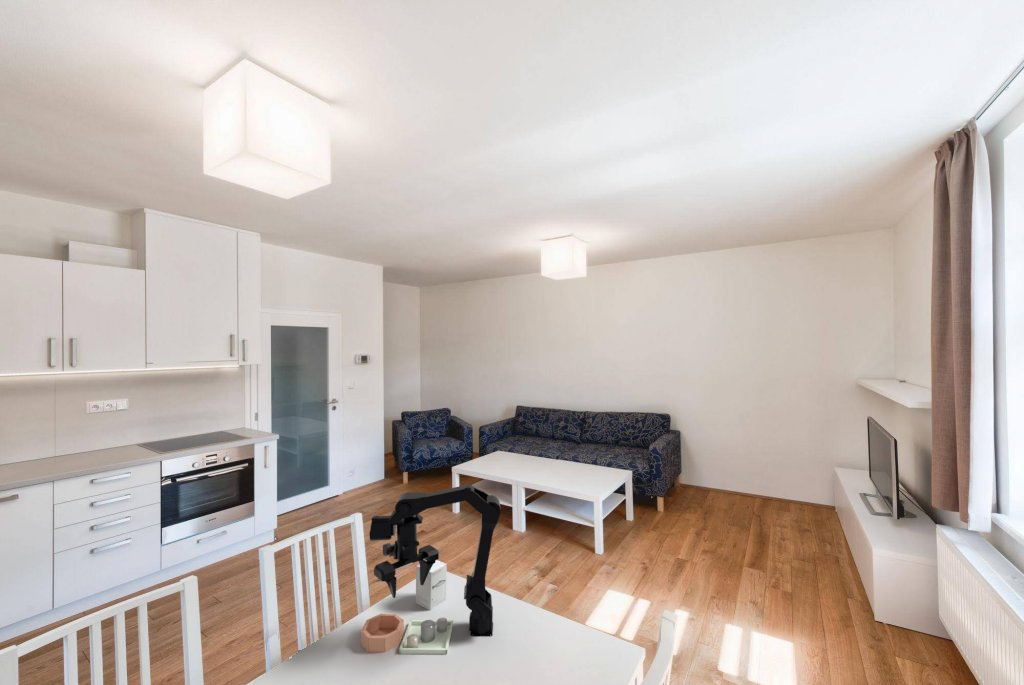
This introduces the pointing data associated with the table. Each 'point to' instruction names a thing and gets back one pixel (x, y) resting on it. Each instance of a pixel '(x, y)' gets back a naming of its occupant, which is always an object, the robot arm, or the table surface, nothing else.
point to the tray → (434, 647)
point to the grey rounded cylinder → (427, 631)
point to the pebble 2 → (441, 625)
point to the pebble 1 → (412, 641)
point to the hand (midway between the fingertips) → (408, 590)
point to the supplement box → (432, 586)
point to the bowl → (382, 632)
